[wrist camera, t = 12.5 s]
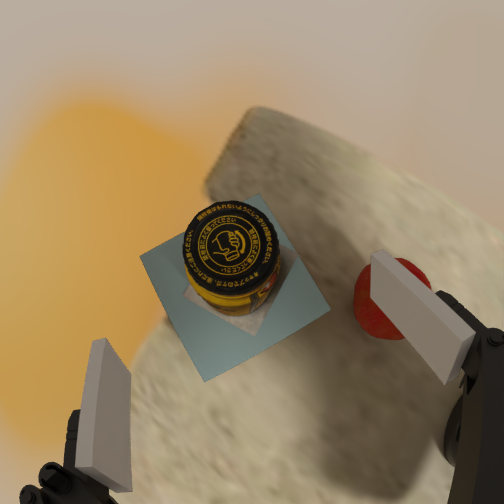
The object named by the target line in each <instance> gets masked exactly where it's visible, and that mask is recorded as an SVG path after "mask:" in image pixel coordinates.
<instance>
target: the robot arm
mask: <svg viewBox="0 0 504 504" xmlns="http://www.w3.org/2000/svg"><path fill="white" fill-rule="evenodd" d="M370 298H371V299H372V300H373V301H374V302H375V303H376V304H377V305H378V307H379V308H380V309H381V310H382V311H383V312H384V313H385V315H386V316H387V317H388V318H389V319H390V320H391V321H392V323H393V324H394V325H395V326H396V327H397V328H398V330H399V331H400V332H401V333H402V334H403V335H404V337H405V338H406V339H407V340H408V341H409V342H410V344H411V345H412V346H413V347H414V348H415V350H416V351H417V352H418V353H419V354H420V356H421V357H422V358H423V359H424V360H425V362H426V363H427V364H428V365H429V366H430V368H431V369H432V370H433V371H434V373H435V374H436V375H437V376H438V378H439V379H440V380H441V381H442V383H443V384H444V385H446V384H447V383H449V382H450V381H452V380H453V379H455V378H456V377H458V375H459V372H460V370H461V368H462V369H463V370H464V371H465V375H464V377H463V379H462V381H461V383H460V386H459V388H461V387H462V385H463V384H464V391H463V395H462V396H461V398H460V399H459V401H458V402H457V404H456V406H455V408H454V410H453V412H452V414H451V416H450V419H449V421H448V424H447V428H446V432H445V438H444V450H445V455H446V458H447V460H448V462H449V463H450V464H451V465H452V466H454V467H455V470H454V476H453V481H452V485H451V490H450V494H449V499H448V503H447V504H504V332H503V331H502V330H500V329H497V328H487V327H485V326H484V325H483V324H482V323H481V322H480V321H479V320H478V319H477V318H476V317H475V316H474V315H473V314H471V313H470V312H469V311H468V310H467V309H466V308H464V306H463V305H462V304H461V303H458V301H457V300H456V299H455V298H454V297H453V296H452V295H450V294H448V293H446V292H444V291H441V290H440V291H438V292H436V293H434V292H433V291H431V290H430V289H429V288H428V287H427V286H426V285H425V284H424V283H422V282H421V281H420V280H419V279H418V278H417V277H416V276H415V275H413V274H412V273H411V272H410V271H409V270H408V269H406V268H405V267H404V266H403V265H402V264H401V263H399V262H398V261H397V260H396V259H395V258H394V257H392V256H391V255H390V254H389V253H388V252H386V251H385V250H384V249H383V250H380V251H377V252H374V253H372V254H371V288H370ZM130 402H131V373H130V372H129V370H128V369H127V367H126V366H125V365H124V363H123V362H122V361H121V359H120V358H119V356H118V355H117V353H116V352H115V351H114V349H113V348H112V346H111V345H110V343H109V342H108V340H107V339H106V338H103V339H99V340H95V341H93V342H92V346H91V351H90V356H89V362H88V367H87V372H86V378H85V384H84V390H83V396H82V404H81V409H79V410H74V411H73V412H72V414H71V416H70V418H69V420H68V427H67V432H68V433H67V434H66V440H67V441H66V443H65V452H64V463H63V467H62V466H61V465H59V464H58V463H55V462H48V463H47V464H45V465H44V466H43V467H42V468H41V470H40V472H39V483H40V486H41V487H43V488H41V489H39V488H37V487H35V486H34V485H26V486H25V487H23V489H22V490H21V492H20V497H19V499H20V504H118V503H117V502H116V501H115V500H114V498H113V497H111V496H110V495H109V489H111V490H113V491H114V492H116V493H120V492H133V490H132V473H131V445H130Z"/></svg>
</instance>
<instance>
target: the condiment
mask: <svg viewBox="0 0 504 504" xmlns="http://www.w3.org/2000/svg"><path fill="white" fill-rule="evenodd" d="M277 237H278V235H277V232H276V231H275V229H274V225H273V224H272V223H271V222H270V221H269V218H267V216H266V215H265V214H264V213H263V212H261V211H260V210H258V209H257V208H255V207H253V206H251V205H249V204H247V203H244V202H239V201H223V202H216V203H214V204H212V205H211V206H209V207H208V208H205V209H204V210H202V211H200V212H199V213H198V214H197V215H196V216H195V217H194V218H193V220H192V222H191V223H190V224H189V225H188V228H187V230H186V231H185V234H184V242H183V245H182V249H183V250H182V253H183V258H184V264H185V270H186V274H187V277H188V280H189V282H190V284H189V286H188V288H187V289H186V291H185V293H184V294H183V297H185V298H187V299H188V300H190V301H192V302H193V303H195V304H197V305H199V306H200V307H202V308H204V309H206V310H207V311H209V312H211V313H213V314H214V315H216V316H218V317H220V318H222V319H223V320H225V321H227V322H229V323H231V324H232V325H234V326H236V327H238V328H240V329H242V330H243V331H245V332H247V333H249V334H251V335H253V336H255V335H256V333H257V332H258V330H259V328H260V326H261V324H262V322H263V321H264V319H265V317H266V315H267V313H268V311H269V309H270V308H271V306H272V304H273V302H274V300H275V298H276V296H277V295H278V293H279V291H280V289H281V287H282V285H283V283H284V281H285V279H286V278H287V275H288V274H289V272H290V270H291V268H292V266H293V264H294V262H295V260H296V258H297V256H298V254H299V253H297V252H295V251H293V250H291V249H289V248H287V247H285V246H283V245H281V244H279V240H278V238H277Z"/></svg>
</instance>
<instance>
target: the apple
mask: <svg viewBox="0 0 504 504" xmlns="http://www.w3.org/2000/svg"><path fill="white" fill-rule="evenodd" d="M395 259H396V260H397V261H398V262H399V263H401V264H402V265H403V266H404V267H405V268H406V269H408V270H409V271H410V272H411V273H412V274H413V275H415V276H416V277H417V278H418V279H419V280H420V281H421V282H422V283H424V284H425V285H426V286H427V287H428V288H429V289H430V290H431V285H430V282H429V281H428V279H427V277H426V276H425V274H424V273H423V272H422V271H421V270H420V269H418V268H417V267H416V266H415V265H414V264H412V263H411V262H409V261H407V260H405V259H403V258H395ZM370 288H371V264H369V265H367V266H366V267H365V268H364V269H363V271H362V272H361V273H360V275H359V277H358V280H357V282H356V284H355V291H354V302H353V304H354V314H355V317H356V319H357V321H358V322H359V324H360V325H361V327H362V328H363V329H364V330H365V331H366V332H368V333H369V334H370V335H371V336H374V337H376V338H381V339H389V340H400V339H403V338H405V337H404V335H403V334H402V333H401V332H400V331H399V330H398V328H397V327H396V326H395V325H394V324H393V323H392V321H391V320H390V319H389V318H388V317H387V316H386V315H385V313H384V312H383V311H382V310H381V309H380V308H379V307H378V305H377V304H376V303H375V302H374V301H373V300H372V299H371V298H370ZM431 291H432V290H431Z"/></svg>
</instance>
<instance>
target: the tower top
mask: <svg viewBox="0 0 504 504" xmlns="http://www.w3.org/2000/svg"><path fill="white" fill-rule="evenodd" d="M243 202H244V203H247V204H249V205H251V206H253V207H255V208H257V209H258V210H260V211H261V212H263V213H264V214H265V215H266V216H267V218H269V221H270V222H271V223H272V224H273V225H274V229H275V231H276V232H277V235H278V237H277V238H278V240H279V244H281V245H283V246H285V247H287V248H289V249H291V250H293V251H295V249H294V247H293V246H292V244H291V243H290V241H289V239H288V238H287V236H286V235H285V233H284V231H283V230H282V228H281V227H280V225H279V223H278V222H277V220H276V219H275V217H274V215H273V214H272V212H271V211H270V209H269V208H268V206H267V204H266V203H265V201H264V200H263V198H262V197H261V195H260V194H257V195H255V196H253V197H251V198H249V199H247V200H245V201H243ZM184 234H185V232H183V233H181V234H179V235H177V236H176V237H174V238H172V239H170V240H168V241H166V242H165V243H163V244H161V245H159V246H157V247H155V248H153V249H152V250H150V251H148V252H146V253H144V254H143V255H141V256H140V258H141V260H142V263H143V265H144V267H145V269H146V271H147V274H148V276H149V278H150V280H151V282H152V284H153V286H154V288H155V291H156V293H157V295H158V297H159V299H160V301H161V303H162V305H163V307H164V309H165V311H166V313H167V315H168V317H169V319H170V321H171V322H172V324H173V326H174V328H175V330H176V332H177V334H178V336H179V338H180V340H181V341H182V343H183V345H184V347H185V349H186V351H187V352H188V354H189V356H190V358H191V360H192V361H193V363H194V365H195V367H196V368H197V370H198V372H199V374H200V375H201V377H202V379H203V381H204V382H206V381H208V380H210V379H212V378H214V377H216V376H218V375H220V374H222V373H224V372H226V371H227V370H229V369H231V368H233V367H235V366H237V365H239V364H240V363H242V362H244V361H246V360H248V359H249V358H251V357H253V356H255V355H257V354H258V353H260V352H262V351H264V350H265V349H267V348H269V347H271V346H272V345H274V344H276V343H278V342H279V341H281V340H283V339H284V338H286V337H288V336H289V335H291V334H293V333H294V332H296V331H298V330H299V329H301V328H303V327H304V326H306V325H308V324H309V323H311V322H312V321H314V320H316V319H317V318H319V317H320V316H322V315H324V314H325V313H327V312H328V311H330V310H331V309H330V307H329V305H328V303H327V302H326V300H325V298H324V297H323V295H322V293H321V292H320V290H319V288H318V287H317V285H316V283H315V282H314V280H313V278H312V277H311V275H310V273H309V272H308V270H307V269H306V267H305V265H304V264H303V262H302V260H301V259H300V257H299V255H298V256H297V258H296V260H295V262H294V264H293V266H292V268H291V270H290V272H289V274H288V275H287V278H286V279H285V281H284V283H283V285H282V287H281V289H280V291H279V293H278V295H277V296H276V298H275V300H274V302H273V304H272V306H271V308H270V309H269V311H268V313H267V315H266V317H265V319H264V321H263V322H262V324H261V326H260V328H259V330H258V332H257V333H256V335H255V336H253V335H251V334H249V333H247V332H245V331H243V330H242V329H240V328H238V327H236V326H234V325H232V324H231V323H229V322H227V321H225V320H223V319H222V318H220V317H218V316H216V315H214V314H213V313H211V312H209V311H207V310H206V309H204V308H202V307H200V306H199V305H197V304H195V303H193V302H192V301H190V300H188V299H187V298H185V297H183V294H184V293H185V291H186V289H187V288H188V286H189V284H190V282H189V280H188V277H187V274H186V270H185V264H184V258H183V253H182V250H183V249H182V245H183V242H184ZM295 252H296V251H295Z"/></svg>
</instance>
